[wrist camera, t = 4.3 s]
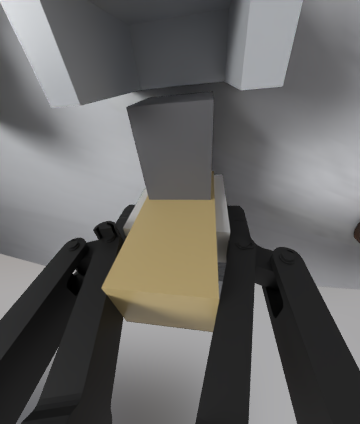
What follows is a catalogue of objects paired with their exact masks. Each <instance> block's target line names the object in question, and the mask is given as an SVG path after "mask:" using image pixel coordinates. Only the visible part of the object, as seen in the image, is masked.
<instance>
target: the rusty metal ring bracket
mask: <svg viewBox="0 0 360 424" xmlns="http://www.w3.org/2000/svg"><path fill="white" fill-rule="evenodd" d="M354 238H355V239H356V240H357V241H358V242H359V243H360V223H359V224H358V226H357V227H356V229H355V231H354Z"/></svg>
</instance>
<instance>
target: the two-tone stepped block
mask: <svg viewBox="0 0 360 424" xmlns="http://www.w3.org/2000/svg"><path fill="white" fill-rule="evenodd" d="M126 108H127V112H128V116H129V120H130V124H131V128H132V132H133V136H134V140H135V145H136V149H137V153H138V157H139V161H140V165H141V169H142V173H143V177H144V181H145V185H146V189H147V193H148V196H147V198H146V200H145V202H144V204H143V206H142V208H141V210H140V212H139V214H138V216H137V218H136V220H135V222H134V224H133V226H132V228H131V230H130V232H129V234H128V236H127V238H126V240H125V242H124V244H123V246H122V248H121V250H120V252H119V254H118V256H117V258H116V259H115V261H114V263H113V265H112V267H111V269H110V271H109V273H108V275H107V277H106V279H105V281H104V283H103V285H102V287H101V288H102V290H103V291H104V292H105V293H106V294H107V296H108V297H109V298H110V300H111V301H112V302H113V304H114V305H115V306H116V308H117V309H118V310H119V312H120V313H121V314H122V316H123V317H124V318H125V320H126V321H129V322H136V323H145V324H152V325H161V326H168V327H177V328H184V329H192V330H201V331H209V332H213V330H214V325H215V319H216V314H217V309H218V304H219V284H218V262H217V239H216V216H215V194H214V171H212V141H213V108H214V98H213V92H202V93H191V94H181V95H170V96H160V97H149V98H147V99H145V100H142V101H140V102H137V103H135V104H133V105H130V106H128V107H126Z"/></svg>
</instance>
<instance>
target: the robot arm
mask: <svg viewBox="0 0 360 424" xmlns="http://www.w3.org/2000/svg"><path fill="white" fill-rule="evenodd" d="M214 194H215V216H216V239H217V262H224V263H226V268H225V273H224V278H223V283H222V288H221V294H220V299H219V304H218V309H217V314H216V319H215V325H214V330H213V336H212V340H211V346H210V351H209V356H208V362H207V366H206V371H205V377H204V382H203V387H202V392H201V398H200V403H199V408H198V413H197V418H196V423H195V424H248V420H249V397H250V374H251V353H252V352H251V351H252V329H253V308H254V307H253V306H254V285H255V283H256V284H259V285H262V289H263V292H264V296H265V300H266V304H267V308H268V312H269V316H270V319H271V324H272V327H273V331H274V335H275V339H276V343H277V347H278V351H279V354H280V358H281V362H282V366H283V370H284V374H285V378H286V382H287V385H288V389H289V393H290V397H291V401H292V405H293V409H294V413H295V417H296V421H297V424H360V371H359V368H358V366H357V364H356V362H355V360H354V359H353V356H352V355H351V353H350V351H349V349H348V347H347V345H346V343H345V341H344V339H343V337H342V335H341V333H340V331H339V329H338V327H337V325H336V324H335V322H334V319H333V317H332V316H331V314H330V312H329V310H328V308H327V306H326V304H325V302H324V300H323V298H322V296H321V294H320V292H319V290H318V288H317V286H316V284H315V282H314V280H313V279H312V277H311V275H310V273H309V271H308V269H307V267H306V265H305V263H304V261H303V259H302V258H301V256H300V255H299V254H298V253H297V252H295V251H294V250H292V249H289V248H285V247H279V248H276V249H275V250H274V251H271V250H268V249H264V248H262V247H259V246H258V245H256V244H255V243H254V241H253V240H252V239H251V237H250V233H249V229H248V225H247V221H246V217H245V213H244V210H243V209H242V208H241V207H240V206H227V203H226V195H225V188H224V180H223V175H214ZM147 196H148V193H147V189H146V187H145V189H144V191H143V193H142V194H141V196H140V198H139V200H138V202H137V203H136V205H129V206H128V207H126V208H125V209H124V211H123V212H122V214H121V216H120V217H119V219H118V220H117V222H116V224H115V223H114V222H112V221H106V222H102V223H100V224H99V225H97V226H96V227H95V228H94V230H93V231H94V232H95V234H96V236H97V238H98V239H99V240H97V241H92V242H87V243H86V241H85V240H84V239H83V238H75V239H72V240H70V241H69V242H67V243H66V244H65V245H64V246H63V247H62V248H61V250H60V251H59V252H58V253H57V254H56V255H55V257H54V258H53V259H52V260H51V261H50V262H49V264H48V265H47V266H46V267H45V268H44V270H43V271H42V272H41V273H40V274H39V275H38V277H37V278H36V279H35V280H34V281H33V282H32V284H31V285H30V286H29V287H28V288H27V290H26V291H25V292H24V293H23V294H22V295H21V297H20V298H19V299H18V300H17V301H16V303H15V304H14V305H13V306H12V307H11V308H10V310H9V311H8V312H7V313H6V314H5V315H4V317H3V318H2V319H1V320H0V424H16V422H17V420H18V418H19V417H20V415H21V413H22V411H23V410H24V408H25V406H26V404H27V402H28V401H29V399H30V397H31V395H32V393H33V392H34V390H35V388H36V386H37V384H38V383H39V381H40V379H41V377H42V375H43V374H44V372H45V370H46V368H47V366H48V365H49V363H50V361H51V359H52V357H53V356H54V354H55V352H56V350H57V349H58V350H57V353H56V356H55V359H54V361H53V364H52V367H51V369H50V372H49V375H48V377H47V380H46V383H45V385H44V388H43V391H42V394H41V396H40V399H39V401H38V404H37V406H36V407H35V409H34V410H33V412H32V413H31V414H30V415H29V416H28V417H27V418H26V419H25V420H23V422H22V423H21V424H112V414H111V398H112V391H113V384H114V377H115V370H116V363H117V356H118V350H119V343H120V337H121V330H122V322H123V316H122V314H121V313H120V312H119V310H118V309H117V308H116V306H115V305H114V304H113V302H112V301H111V300H110V298H109V297H108V296H107V294H106V293H105V292H104V291H103V290H102V288H101V287H102V285H103V283H104V281H105V279H106V277H107V275H108V273H109V271H110V269H111V267H112V265H113V263H114V261H115V259H116V258H117V256H118V254H119V252H120V250H121V248H122V246H123V244H124V242H125V240H126V238H127V236H128V234H129V232H130V230H131V228H132V226H133V224H134V222H135V220H136V218H137V216H138V214H139V212H140V210H141V208H142V206H143V204H144V202H145V200H146V198H147ZM226 261H227V262H226ZM75 269H76V270H77V271H76V272H75V273H74V274H72V273H73V272H74V270H75ZM58 347H59V348H58Z"/></svg>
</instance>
